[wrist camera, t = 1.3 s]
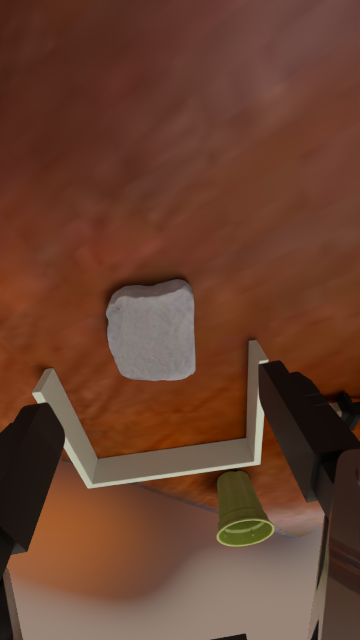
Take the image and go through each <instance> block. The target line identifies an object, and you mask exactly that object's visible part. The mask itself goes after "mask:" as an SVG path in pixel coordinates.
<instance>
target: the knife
mask: <svg viewBox="0 0 360 640" xmlns="http://www.w3.org/2000/svg"><path fill="white" fill-rule="evenodd" d="M330 405H331V406H332V407H333V409H334V410H335V411H336V412H337V414H338V415H339V416H340V417H341V419H342V420H343V421H344V423H345V424H346V425H347V426H348V428H349V429H350V430H354V428H355V426H356V425H357V423H358V421H359V419H360V402H355V403H353V402H352V400H351V399H350V397H349V395H348V394H347V393H343V392H342V393H341V395H340V397H339V399H338V401H337V402H336V403H330Z"/></svg>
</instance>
